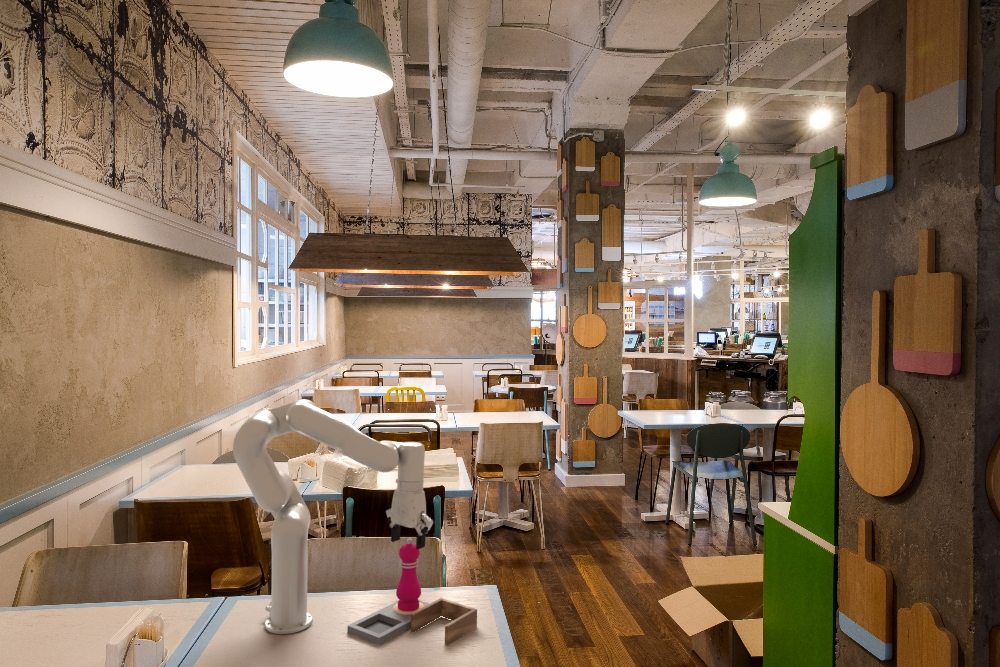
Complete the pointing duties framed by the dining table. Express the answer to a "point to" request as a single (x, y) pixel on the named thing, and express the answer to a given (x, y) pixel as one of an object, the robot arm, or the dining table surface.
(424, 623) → the wooden u-shaped frame
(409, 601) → the pepper mill
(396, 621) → the gray portable music player
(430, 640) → the dining table surface
